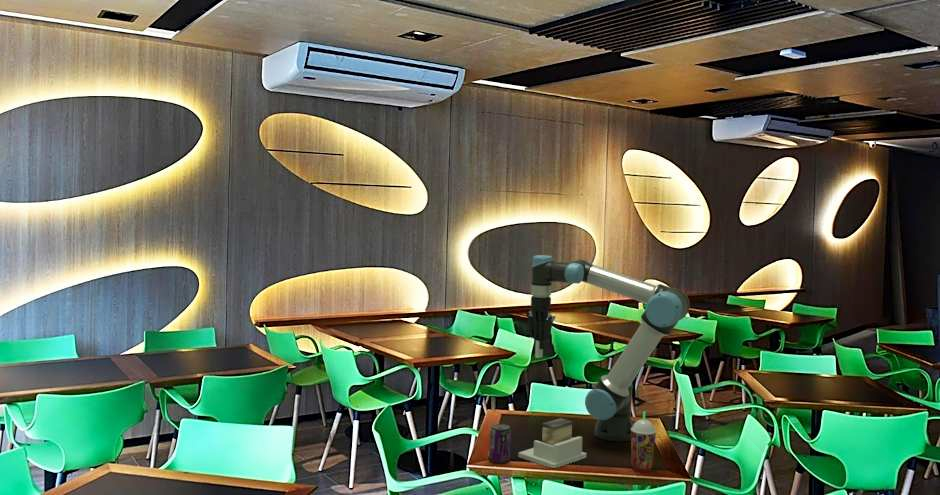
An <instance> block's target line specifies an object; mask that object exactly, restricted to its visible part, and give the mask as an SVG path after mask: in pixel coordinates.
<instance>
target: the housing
mask: <svg viewBox="0 0 940 495" xmlns="http://www.w3.org/2000/svg"><path fill="white" fill-rule="evenodd" d="M517 454H518V458H521V459H522V460H526V461H529V462H532V463H534V464H536V465H537V464H538V465H541V466H543V465H544V466H543V467H546V466H547V467H546V468H549V467H551V468H556V469H558V468H557V467H559V468H561V467H560V466H562V467H563V465H564V466H567V465H570V464H572V462H573V463H576V462H577V461H581V460H583V459H585V458H586V459H587V455H588V454H587V452H584V451H583V436H580V435H579V436H575V437H572V438H571V439H569V440H566V441H563V442H560V443H557V444H554V445H553V446H552V445H549V444H546V443H543V442H542V441H540V440H536V439H535V440H533V447H531V448H529V449H525V450H522V451H519V452H518V453H517ZM569 463H570V464H569ZM566 464H567V465H566ZM551 468H550V469H551Z"/></svg>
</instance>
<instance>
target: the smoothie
mask: <svg viewBox="0 0 940 495" xmlns="http://www.w3.org/2000/svg"><path fill="white" fill-rule="evenodd" d="M656 434H657V429H656V428H655V425H654V424H653V423H652V422H651V421H650V420H649V419H646V411H644V410H643V414H642V418H641V419H638V420H635V422H634V423H633V426H632V428H631V440H630V444H631V446H630V447H631V450H630V452H631V453H630V454H631V466H632V469H633V470H634V471H636V472H639V473H648V472H650V471H651V469H652V468H653V461H654V454H655V453H654V452H655V444H656V443H655V442H656V437H657V435H656Z"/></svg>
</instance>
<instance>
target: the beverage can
mask: <svg viewBox="0 0 940 495" xmlns="http://www.w3.org/2000/svg"><path fill="white" fill-rule="evenodd" d="M511 438H512V430H511V426H510V425H508V424H506V423H505V424H504V423H495V424H492V426H491V429H490V432H489V460H491V461H493V462H494V463H497V464H504V463H506V462H509V461H510V460H511V446H512V445H511V442H512V440H511Z"/></svg>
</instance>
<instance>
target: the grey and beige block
mask: <svg viewBox="0 0 940 495" xmlns="http://www.w3.org/2000/svg"><path fill="white" fill-rule="evenodd" d="M573 423H574V422H573V421H572V420H569V419H566V418H562V417H560V418H556V419H553V420H550V421H549V420H548V421H546V422H543V423H541V424H542V426H541V427H542V433H541V435H542V438H541V442H543V443H546V444H549V445H552V446H553V445H554V444H557V443H560V442H563V441H566V440H569V439H571V438H572V433H573Z"/></svg>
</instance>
